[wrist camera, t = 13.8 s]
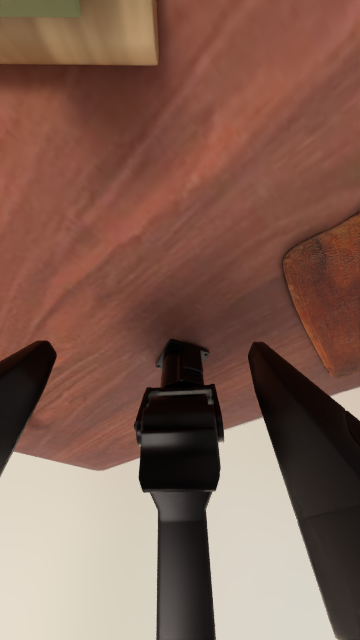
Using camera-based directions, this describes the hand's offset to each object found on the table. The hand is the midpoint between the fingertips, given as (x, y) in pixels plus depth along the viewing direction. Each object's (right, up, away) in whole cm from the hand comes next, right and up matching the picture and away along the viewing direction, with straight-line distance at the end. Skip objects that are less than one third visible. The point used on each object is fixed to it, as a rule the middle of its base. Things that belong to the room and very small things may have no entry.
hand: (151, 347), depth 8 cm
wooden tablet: (+23, +2, +15) cm, 27 cm away
